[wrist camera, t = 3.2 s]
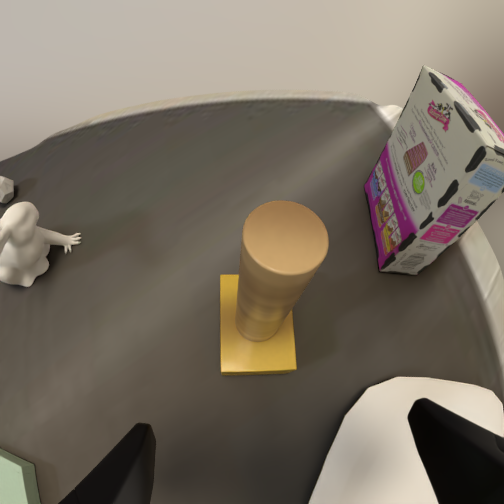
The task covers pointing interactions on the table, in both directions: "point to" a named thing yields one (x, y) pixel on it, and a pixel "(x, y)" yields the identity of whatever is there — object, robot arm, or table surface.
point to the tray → (17, 480)
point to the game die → (6, 190)
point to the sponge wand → (269, 288)
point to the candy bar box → (433, 174)
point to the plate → (394, 442)
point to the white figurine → (26, 245)
